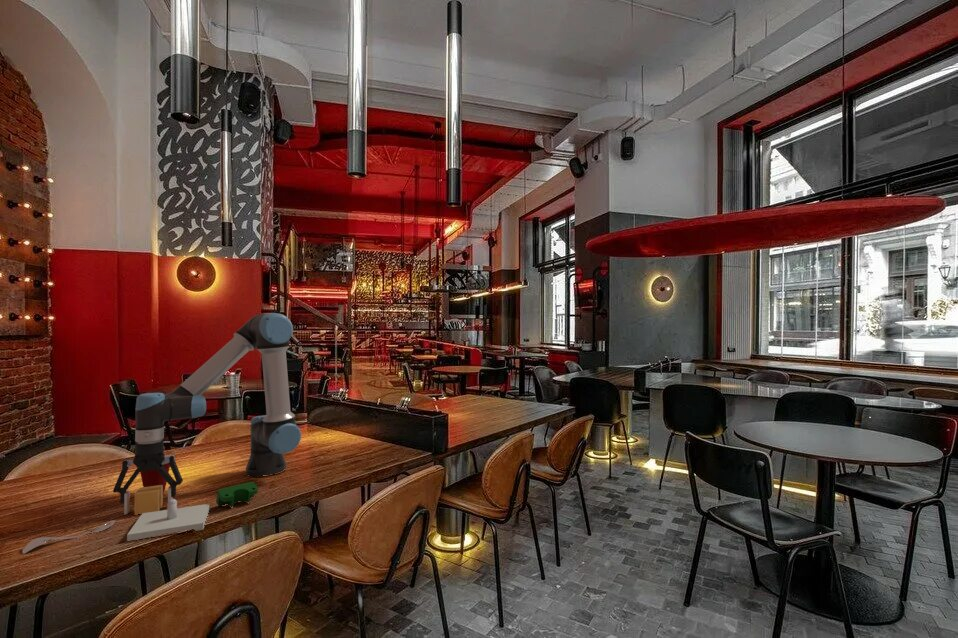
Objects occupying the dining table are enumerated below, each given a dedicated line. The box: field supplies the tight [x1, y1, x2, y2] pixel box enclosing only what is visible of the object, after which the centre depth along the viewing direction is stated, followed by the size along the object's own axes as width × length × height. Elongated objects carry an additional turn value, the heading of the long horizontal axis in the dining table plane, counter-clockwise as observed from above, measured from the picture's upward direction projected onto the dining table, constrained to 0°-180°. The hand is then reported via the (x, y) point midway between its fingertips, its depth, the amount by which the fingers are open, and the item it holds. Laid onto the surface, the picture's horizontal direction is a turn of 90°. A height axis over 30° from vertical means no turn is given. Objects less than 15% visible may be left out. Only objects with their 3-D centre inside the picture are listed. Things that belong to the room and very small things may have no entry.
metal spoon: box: [21, 520, 117, 554], centre depth 127 cm, size 20×4×5 cm
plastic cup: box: [139, 454, 171, 493], centre depth 162 cm, size 11×11×12 cm
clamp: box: [215, 481, 259, 507], centre depth 151 cm, size 12×6×9 cm, turn 131°
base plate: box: [126, 498, 211, 542], centre depth 136 cm, size 18×16×8 cm
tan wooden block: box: [134, 485, 164, 516], centre depth 146 cm, size 6×6×7 cm
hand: (148, 509), depth 146 cm, fingers open, 11 cm apart
